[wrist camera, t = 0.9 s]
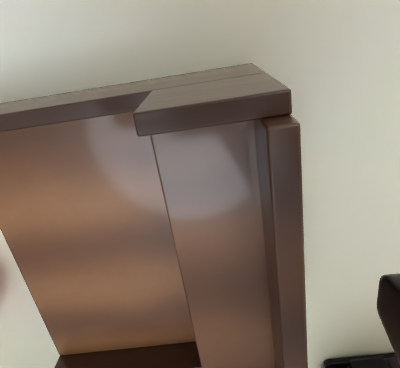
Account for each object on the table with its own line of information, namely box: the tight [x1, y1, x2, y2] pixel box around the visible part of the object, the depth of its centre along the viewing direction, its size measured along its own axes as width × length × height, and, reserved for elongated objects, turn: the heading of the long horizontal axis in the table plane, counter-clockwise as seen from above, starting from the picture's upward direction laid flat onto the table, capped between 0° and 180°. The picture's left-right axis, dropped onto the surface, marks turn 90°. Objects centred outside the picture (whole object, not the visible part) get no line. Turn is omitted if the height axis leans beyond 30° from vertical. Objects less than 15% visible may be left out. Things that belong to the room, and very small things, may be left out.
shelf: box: [0, 63, 308, 368], centre depth 18 cm, size 19×16×10 cm
